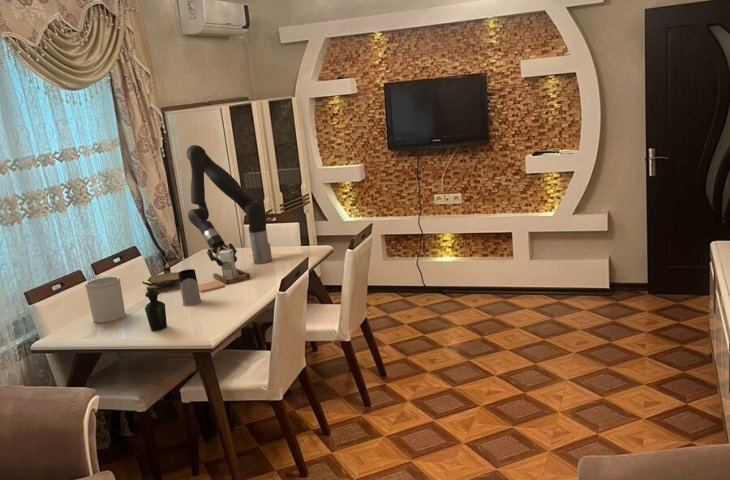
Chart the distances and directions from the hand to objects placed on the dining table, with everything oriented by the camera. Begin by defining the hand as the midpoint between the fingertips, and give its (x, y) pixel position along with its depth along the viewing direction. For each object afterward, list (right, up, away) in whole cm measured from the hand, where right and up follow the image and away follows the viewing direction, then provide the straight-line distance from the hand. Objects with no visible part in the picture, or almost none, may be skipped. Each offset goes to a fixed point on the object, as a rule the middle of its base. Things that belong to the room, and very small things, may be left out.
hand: (228, 263), depth 360 cm
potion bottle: (-17, -25, -64) cm, 71 cm away
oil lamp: (-31, -11, +5) cm, 33 cm away
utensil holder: (-45, -23, -40) cm, 65 cm away
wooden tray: (+1, -8, +1) cm, 8 cm away
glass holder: (-11, -17, -31) cm, 37 cm away
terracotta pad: (-8, -11, -10) cm, 17 cm away
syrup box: (0, -8, +3) cm, 8 cm away
